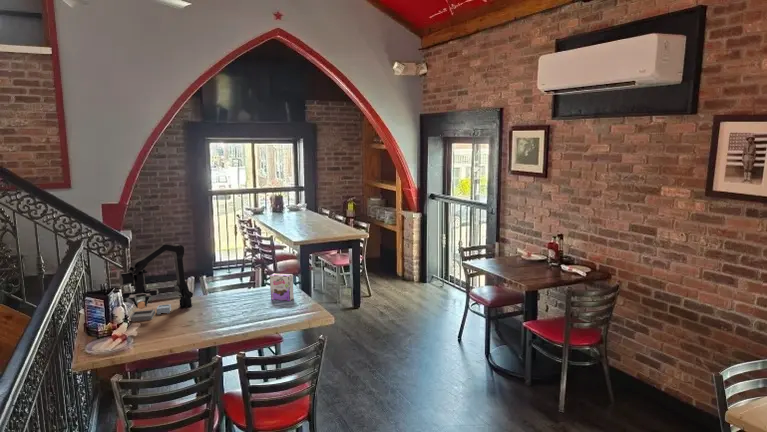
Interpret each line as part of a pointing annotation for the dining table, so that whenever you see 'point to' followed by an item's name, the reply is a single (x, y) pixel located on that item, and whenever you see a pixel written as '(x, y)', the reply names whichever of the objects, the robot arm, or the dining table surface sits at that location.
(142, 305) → the ball
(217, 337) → the dining table surface
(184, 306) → the robot arm
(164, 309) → the light blue storage bin
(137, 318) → the tray
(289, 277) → the candy box
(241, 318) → the dining table surface
